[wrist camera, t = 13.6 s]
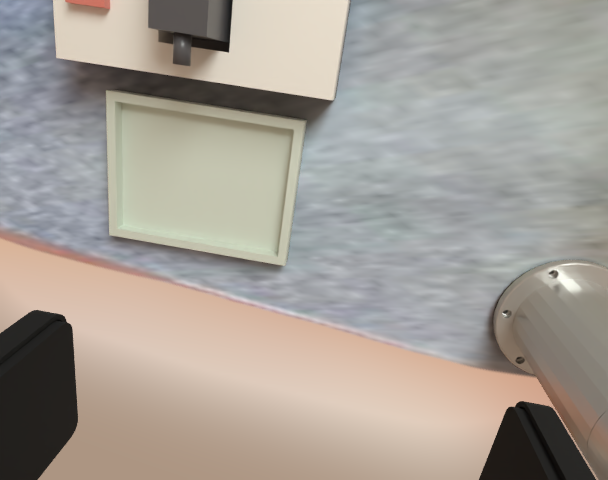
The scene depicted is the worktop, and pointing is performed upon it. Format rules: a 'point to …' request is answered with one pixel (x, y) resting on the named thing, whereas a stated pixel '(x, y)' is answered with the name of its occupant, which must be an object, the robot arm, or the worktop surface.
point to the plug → (191, 23)
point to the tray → (202, 175)
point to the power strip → (216, 43)
